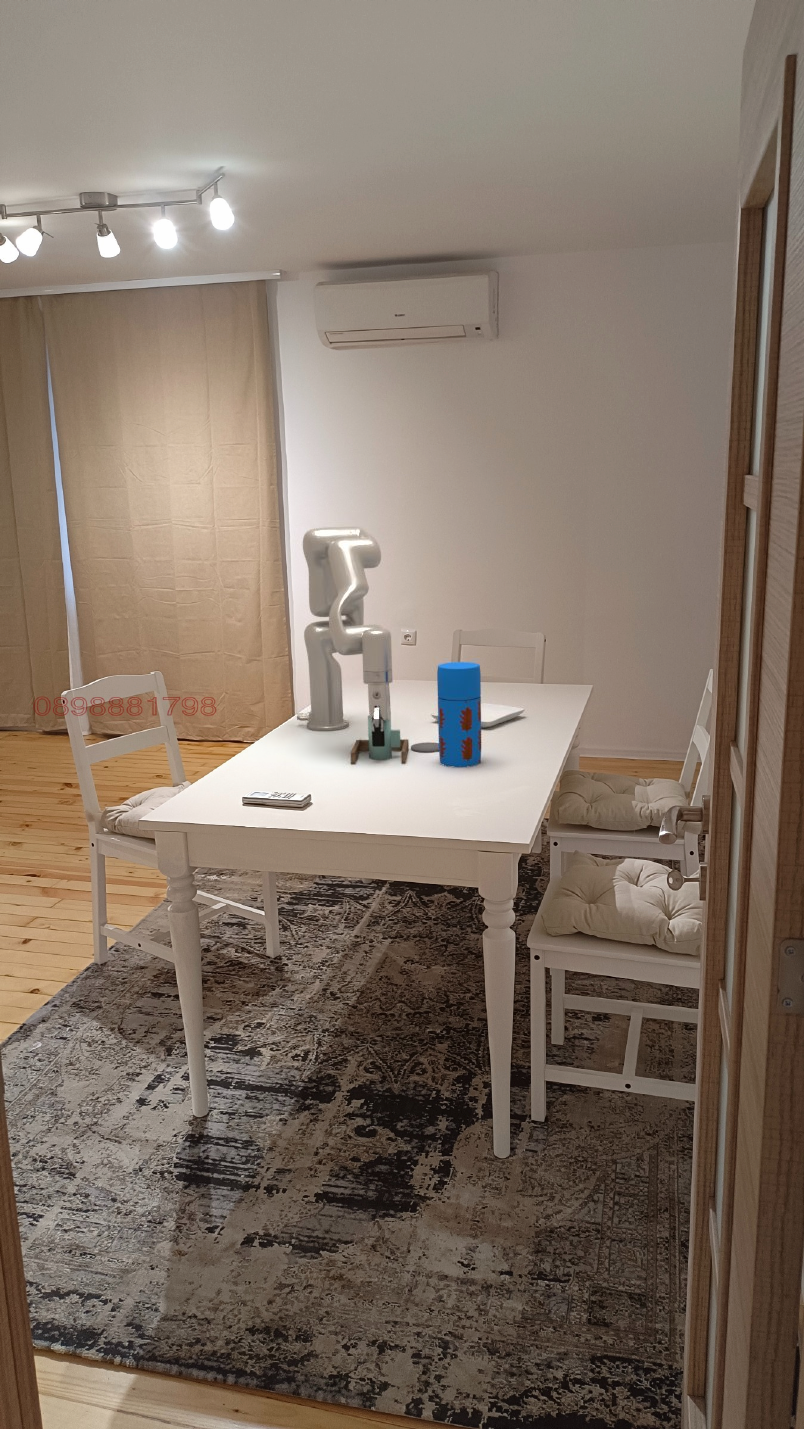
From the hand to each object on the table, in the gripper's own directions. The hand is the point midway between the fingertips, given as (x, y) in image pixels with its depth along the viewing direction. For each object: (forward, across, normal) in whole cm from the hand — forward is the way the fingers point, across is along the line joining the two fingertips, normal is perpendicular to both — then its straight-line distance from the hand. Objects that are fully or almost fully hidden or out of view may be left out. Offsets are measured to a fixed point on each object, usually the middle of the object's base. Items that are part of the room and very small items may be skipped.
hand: (380, 741), depth 270 cm
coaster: (+4, +8, -12) cm, 15 cm away
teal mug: (+4, 0, -1) cm, 4 cm away
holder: (+4, 0, 0) cm, 4 cm away
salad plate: (+5, +43, -26) cm, 50 cm away
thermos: (+4, -6, -21) cm, 22 cm away
